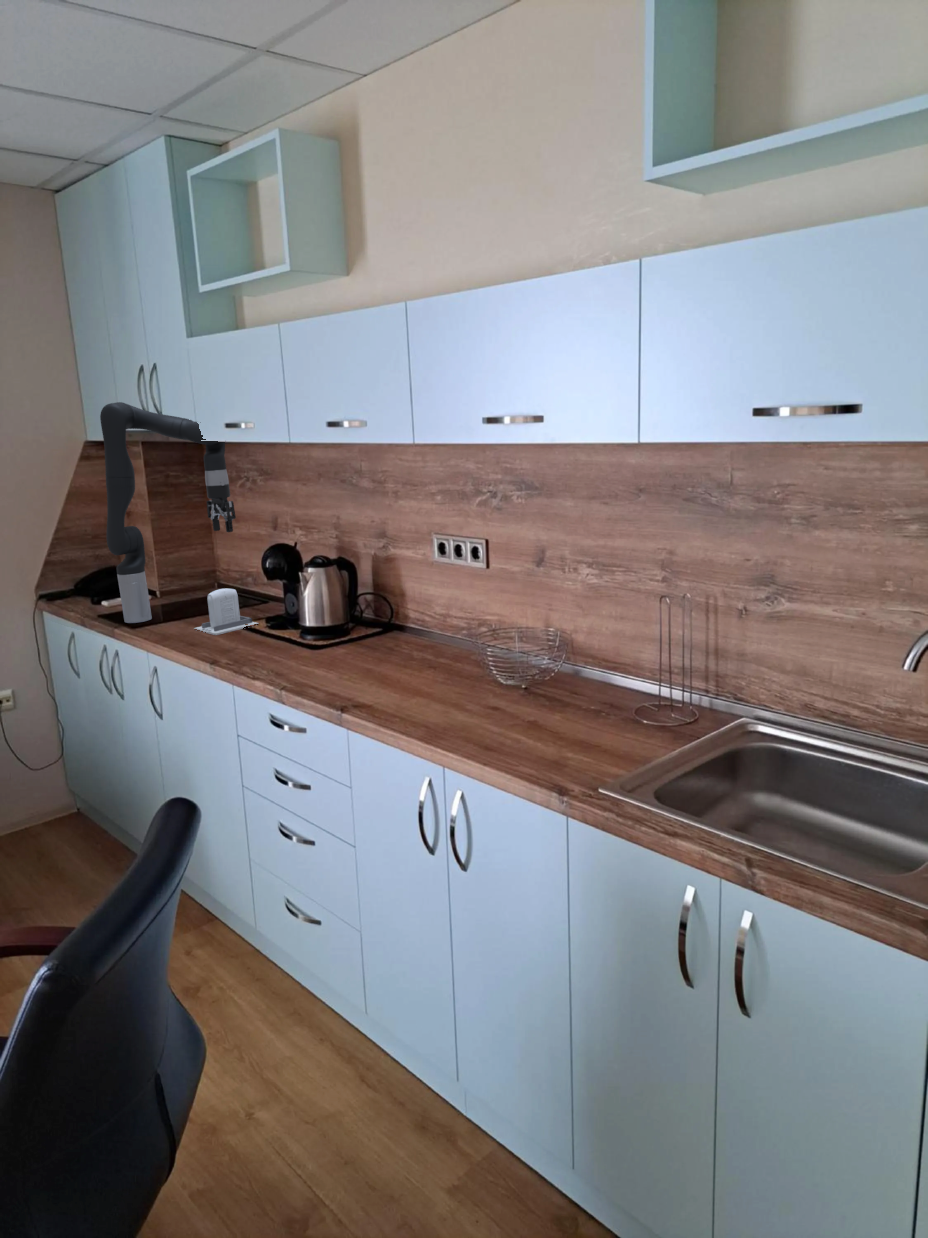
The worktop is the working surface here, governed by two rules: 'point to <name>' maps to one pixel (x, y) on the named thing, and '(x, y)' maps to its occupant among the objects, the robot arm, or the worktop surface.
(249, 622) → the dock
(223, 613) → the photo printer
